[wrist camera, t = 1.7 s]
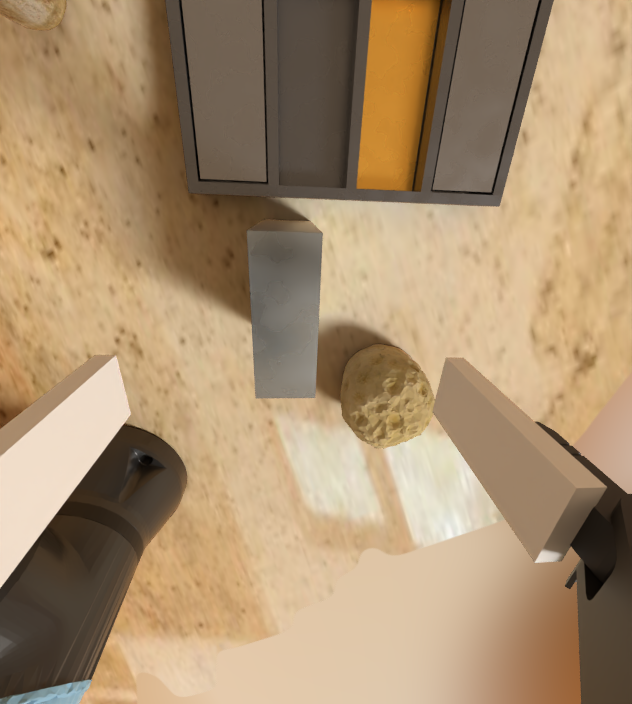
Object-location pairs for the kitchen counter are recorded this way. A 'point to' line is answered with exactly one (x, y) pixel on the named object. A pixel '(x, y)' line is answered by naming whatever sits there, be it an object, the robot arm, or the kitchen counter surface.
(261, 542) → the kitchen counter surface
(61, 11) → the decorative mushroom
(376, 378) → the decorative item
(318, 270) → the panel
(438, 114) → the rack
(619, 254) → the kitchen counter surface
